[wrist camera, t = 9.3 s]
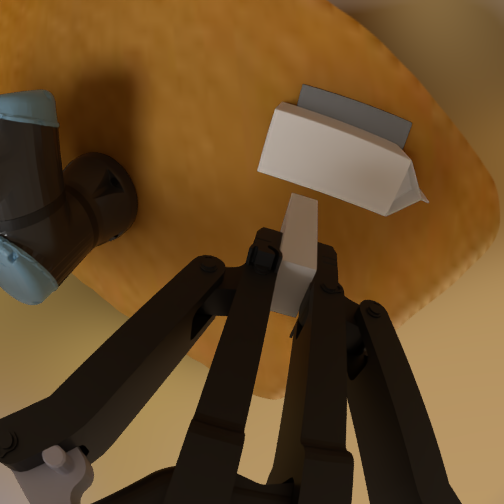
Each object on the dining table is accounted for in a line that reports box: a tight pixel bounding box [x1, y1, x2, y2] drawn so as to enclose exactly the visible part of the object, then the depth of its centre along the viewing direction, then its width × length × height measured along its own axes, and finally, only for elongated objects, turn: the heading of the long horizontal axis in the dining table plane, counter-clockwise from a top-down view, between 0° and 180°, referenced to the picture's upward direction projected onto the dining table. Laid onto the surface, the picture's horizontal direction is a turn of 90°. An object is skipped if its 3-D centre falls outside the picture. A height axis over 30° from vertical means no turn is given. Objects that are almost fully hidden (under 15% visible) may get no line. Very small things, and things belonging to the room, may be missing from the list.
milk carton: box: [257, 102, 429, 216], centre depth 33 cm, size 7×7×19 cm
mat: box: [297, 84, 412, 150], centre depth 36 cm, size 14×12×1 cm
